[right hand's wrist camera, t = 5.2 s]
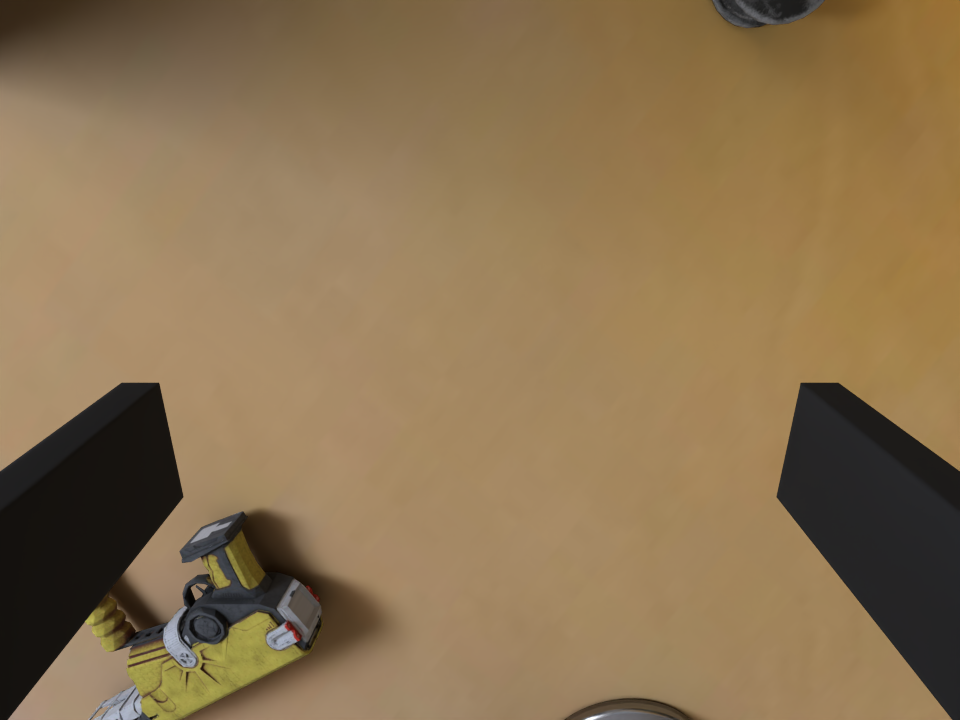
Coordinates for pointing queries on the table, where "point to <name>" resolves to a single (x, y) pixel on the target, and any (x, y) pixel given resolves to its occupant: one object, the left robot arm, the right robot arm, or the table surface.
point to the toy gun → (210, 631)
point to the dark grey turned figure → (764, 11)
